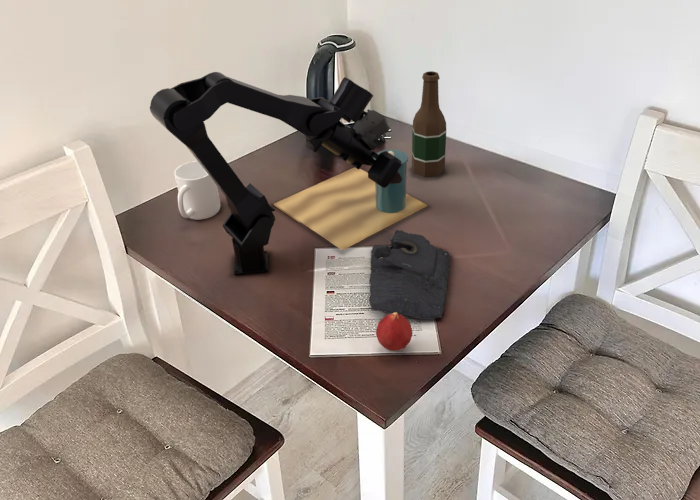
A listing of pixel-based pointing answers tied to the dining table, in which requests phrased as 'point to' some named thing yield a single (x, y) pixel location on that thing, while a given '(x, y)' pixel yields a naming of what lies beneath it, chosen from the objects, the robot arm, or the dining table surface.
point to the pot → (393, 188)
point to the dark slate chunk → (409, 277)
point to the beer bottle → (429, 131)
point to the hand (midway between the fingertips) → (387, 172)
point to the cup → (196, 192)
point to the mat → (344, 208)
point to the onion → (394, 332)
